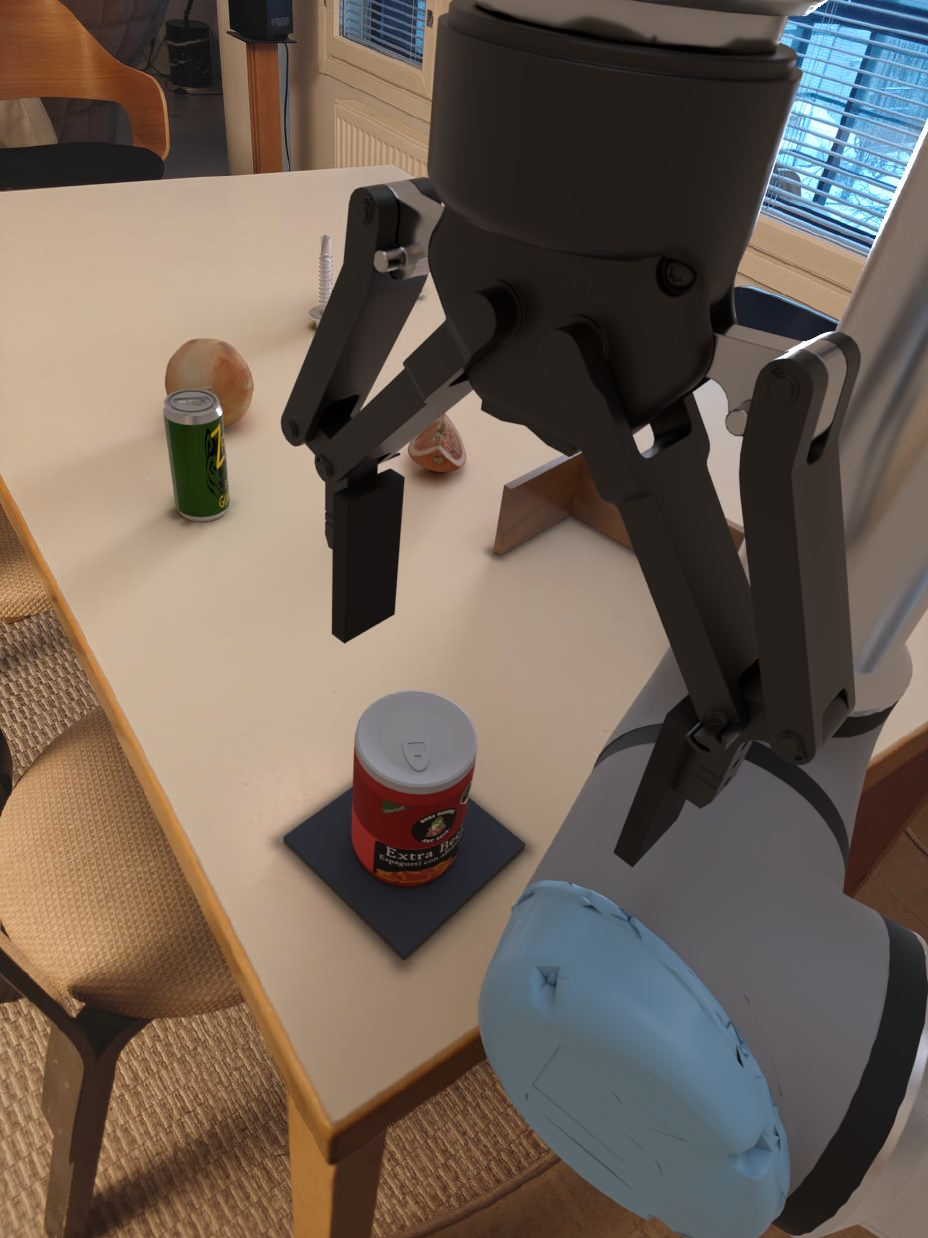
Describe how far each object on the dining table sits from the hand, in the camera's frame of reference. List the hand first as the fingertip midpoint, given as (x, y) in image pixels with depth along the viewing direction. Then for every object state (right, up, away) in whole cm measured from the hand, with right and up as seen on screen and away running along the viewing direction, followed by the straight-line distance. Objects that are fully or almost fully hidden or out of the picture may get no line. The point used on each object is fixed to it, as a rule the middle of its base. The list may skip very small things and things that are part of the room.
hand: (490, 720), depth 31 cm
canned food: (-5, -12, +29) cm, 32 cm away
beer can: (-28, +15, +57) cm, 65 cm away
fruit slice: (-4, +21, +68) cm, 71 cm away
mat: (-5, -12, +29) cm, 32 cm away
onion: (-31, +27, +70) cm, 81 cm away
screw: (-21, +46, +94) cm, 107 cm away
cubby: (+15, +7, +55) cm, 57 cm away
